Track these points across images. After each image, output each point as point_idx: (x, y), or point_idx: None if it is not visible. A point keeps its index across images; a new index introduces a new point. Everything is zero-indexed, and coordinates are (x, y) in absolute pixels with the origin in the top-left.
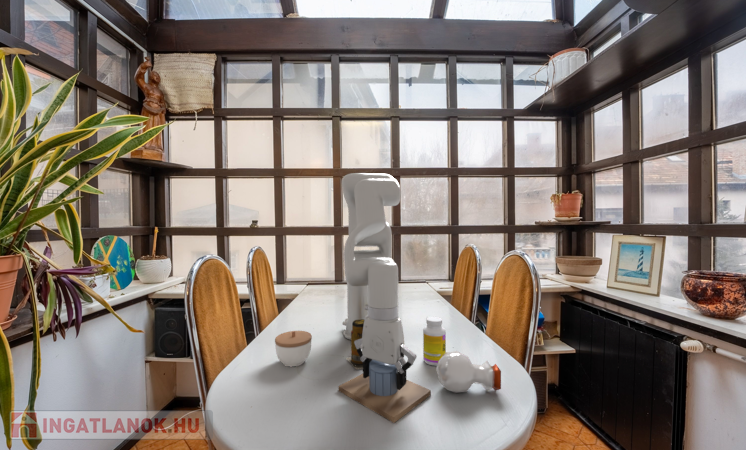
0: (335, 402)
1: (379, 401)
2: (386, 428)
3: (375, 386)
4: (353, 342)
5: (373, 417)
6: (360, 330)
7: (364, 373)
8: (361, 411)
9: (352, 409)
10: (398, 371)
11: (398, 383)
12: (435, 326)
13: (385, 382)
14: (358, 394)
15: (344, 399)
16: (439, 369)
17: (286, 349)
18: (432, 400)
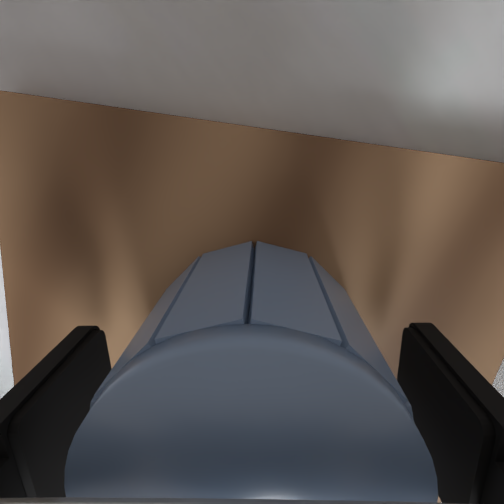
0: (493, 34)
1: (183, 189)
2: (12, 15)
3: (254, 261)
4: None
5: (151, 62)
6: None
7: (433, 342)
8: (258, 66)
9: (326, 44)
10: (24, 461)
11: (55, 353)
12: None
13: (161, 311)
14: (366, 173)
15: (448, 110)
16: None
17: None
18: (4, 394)
